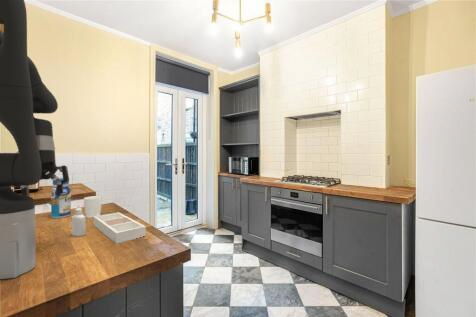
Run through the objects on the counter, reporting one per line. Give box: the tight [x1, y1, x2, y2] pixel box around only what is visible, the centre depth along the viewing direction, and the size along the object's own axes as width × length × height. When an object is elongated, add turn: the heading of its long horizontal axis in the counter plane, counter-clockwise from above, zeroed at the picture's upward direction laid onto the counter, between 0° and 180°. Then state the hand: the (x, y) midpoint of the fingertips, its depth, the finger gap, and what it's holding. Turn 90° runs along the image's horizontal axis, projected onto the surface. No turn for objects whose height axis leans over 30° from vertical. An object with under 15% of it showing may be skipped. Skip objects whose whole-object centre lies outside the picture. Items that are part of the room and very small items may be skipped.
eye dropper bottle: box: [71, 205, 87, 237], centre depth 92 cm, size 4×6×12 cm
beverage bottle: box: [50, 177, 72, 219], centre depth 119 cm, size 8×8×20 cm
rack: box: [92, 212, 147, 245], centre depth 98 cm, size 31×11×4 cm, turn 46°
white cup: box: [83, 195, 102, 219], centre depth 120 cm, size 8×8×10 cm
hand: (43, 197), depth 76 cm, fingers open, 8 cm apart
